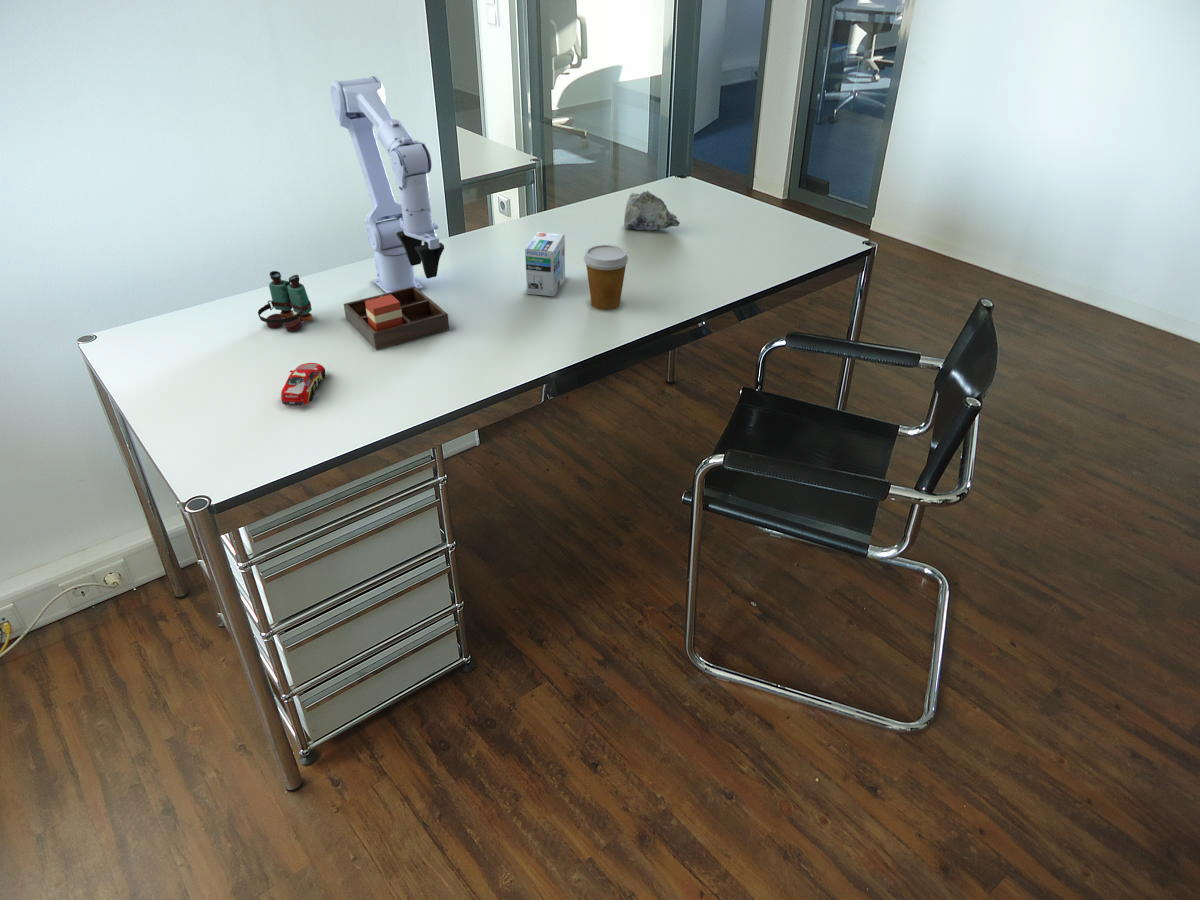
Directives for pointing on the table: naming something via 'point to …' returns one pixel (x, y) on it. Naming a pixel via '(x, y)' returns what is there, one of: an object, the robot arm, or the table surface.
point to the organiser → (416, 317)
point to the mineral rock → (648, 213)
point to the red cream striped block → (383, 312)
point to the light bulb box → (545, 264)
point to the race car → (302, 384)
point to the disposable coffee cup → (605, 275)
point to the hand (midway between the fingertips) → (423, 270)
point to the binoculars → (287, 303)
